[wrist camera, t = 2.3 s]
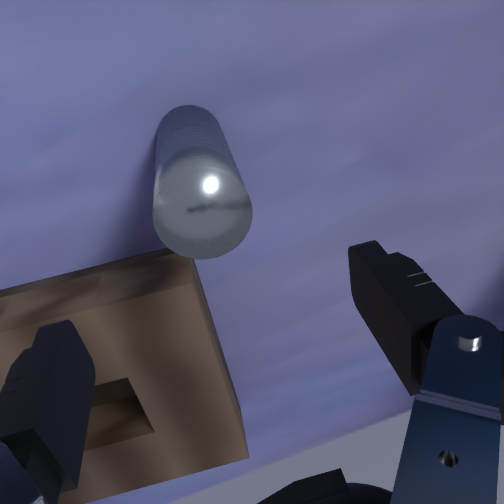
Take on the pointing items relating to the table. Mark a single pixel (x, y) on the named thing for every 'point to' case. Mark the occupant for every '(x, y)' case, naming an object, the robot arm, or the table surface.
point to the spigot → (197, 187)
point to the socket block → (137, 369)
